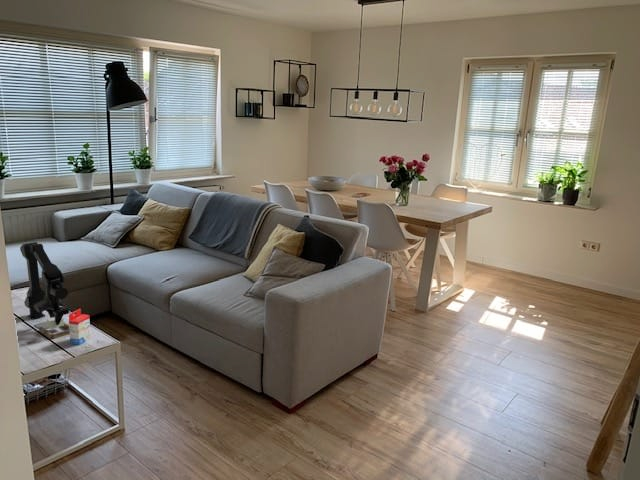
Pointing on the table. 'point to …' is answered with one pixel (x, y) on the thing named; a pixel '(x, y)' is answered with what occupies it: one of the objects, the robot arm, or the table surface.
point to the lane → (56, 333)
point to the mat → (42, 325)
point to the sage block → (54, 323)
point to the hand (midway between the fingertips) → (55, 323)
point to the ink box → (79, 327)
